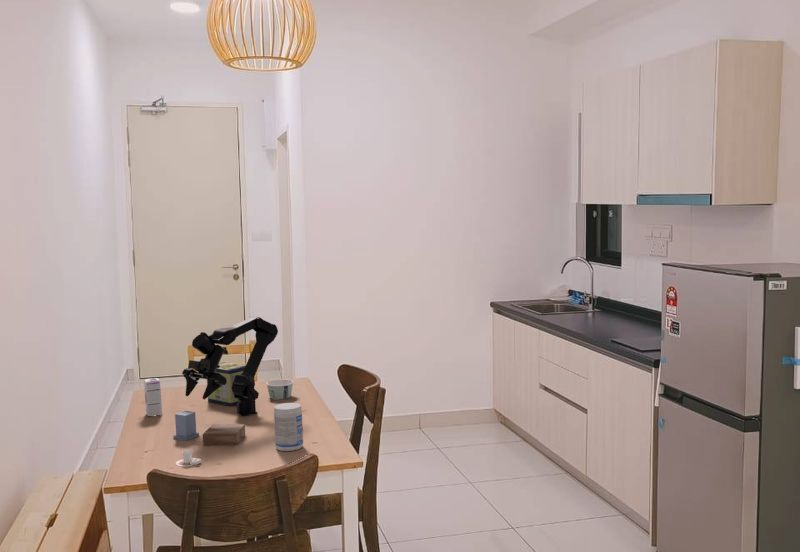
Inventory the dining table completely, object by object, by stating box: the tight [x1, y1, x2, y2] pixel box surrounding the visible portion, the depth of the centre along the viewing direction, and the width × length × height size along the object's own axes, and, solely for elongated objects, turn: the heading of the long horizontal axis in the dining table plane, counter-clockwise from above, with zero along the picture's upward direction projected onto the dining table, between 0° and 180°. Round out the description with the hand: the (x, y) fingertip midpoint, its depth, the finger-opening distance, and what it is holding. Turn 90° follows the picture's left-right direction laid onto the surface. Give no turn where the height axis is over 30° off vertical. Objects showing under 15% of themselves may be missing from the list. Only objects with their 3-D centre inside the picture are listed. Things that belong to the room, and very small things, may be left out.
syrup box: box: [143, 377, 163, 417], centre depth 305 cm, size 6×6×14 cm
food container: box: [265, 378, 294, 400], centre depth 330 cm, size 12×12×6 cm
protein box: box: [207, 361, 246, 407], centre depth 324 cm, size 10×16×16 cm
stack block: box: [202, 423, 246, 446], centre depth 270 cm, size 12×12×4 cm
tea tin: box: [172, 410, 200, 442], centre depth 275 cm, size 6×6×9 cm
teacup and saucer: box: [175, 449, 202, 468], centre depth 247 cm, size 9×8×4 cm
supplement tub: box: [273, 402, 304, 452], centre depth 260 cm, size 10×10×15 cm
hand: (194, 397), depth 282 cm, fingers open, 9 cm apart
